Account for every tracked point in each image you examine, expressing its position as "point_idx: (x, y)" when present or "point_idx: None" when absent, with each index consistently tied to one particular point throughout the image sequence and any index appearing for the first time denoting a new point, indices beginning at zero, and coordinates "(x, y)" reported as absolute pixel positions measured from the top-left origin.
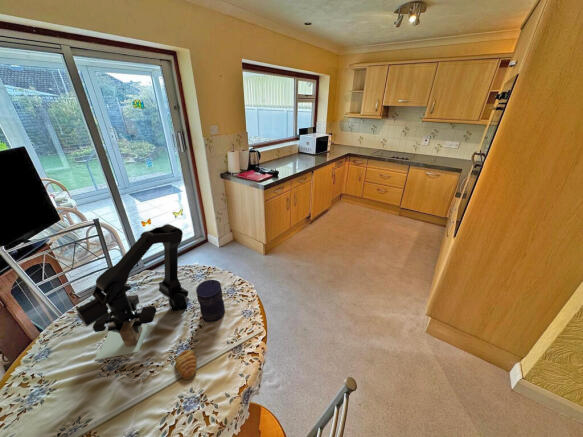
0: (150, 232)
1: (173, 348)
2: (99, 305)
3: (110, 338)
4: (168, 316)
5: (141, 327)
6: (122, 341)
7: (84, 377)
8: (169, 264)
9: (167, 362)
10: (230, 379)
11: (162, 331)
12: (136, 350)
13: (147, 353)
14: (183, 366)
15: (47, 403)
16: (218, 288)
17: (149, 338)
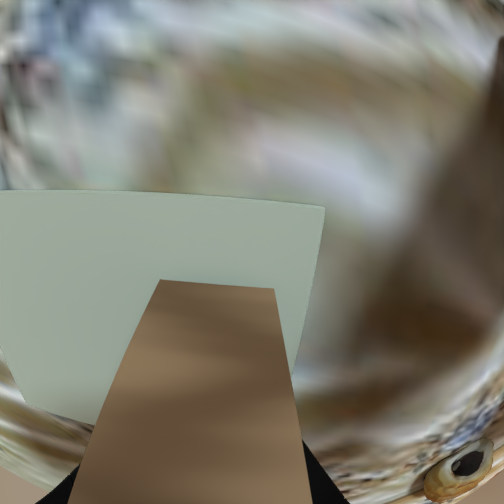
0: None
1: (445, 429)
2: None
3: (2, 284)
4: (494, 169)
5: (276, 315)
6: (109, 355)
7: (50, 446)
8: None
9: (403, 470)
10: (497, 467)
11: (435, 330)
12: None
13: (325, 449)
14: (447, 499)
15: (14, 457)
16: None
17: (339, 373)
